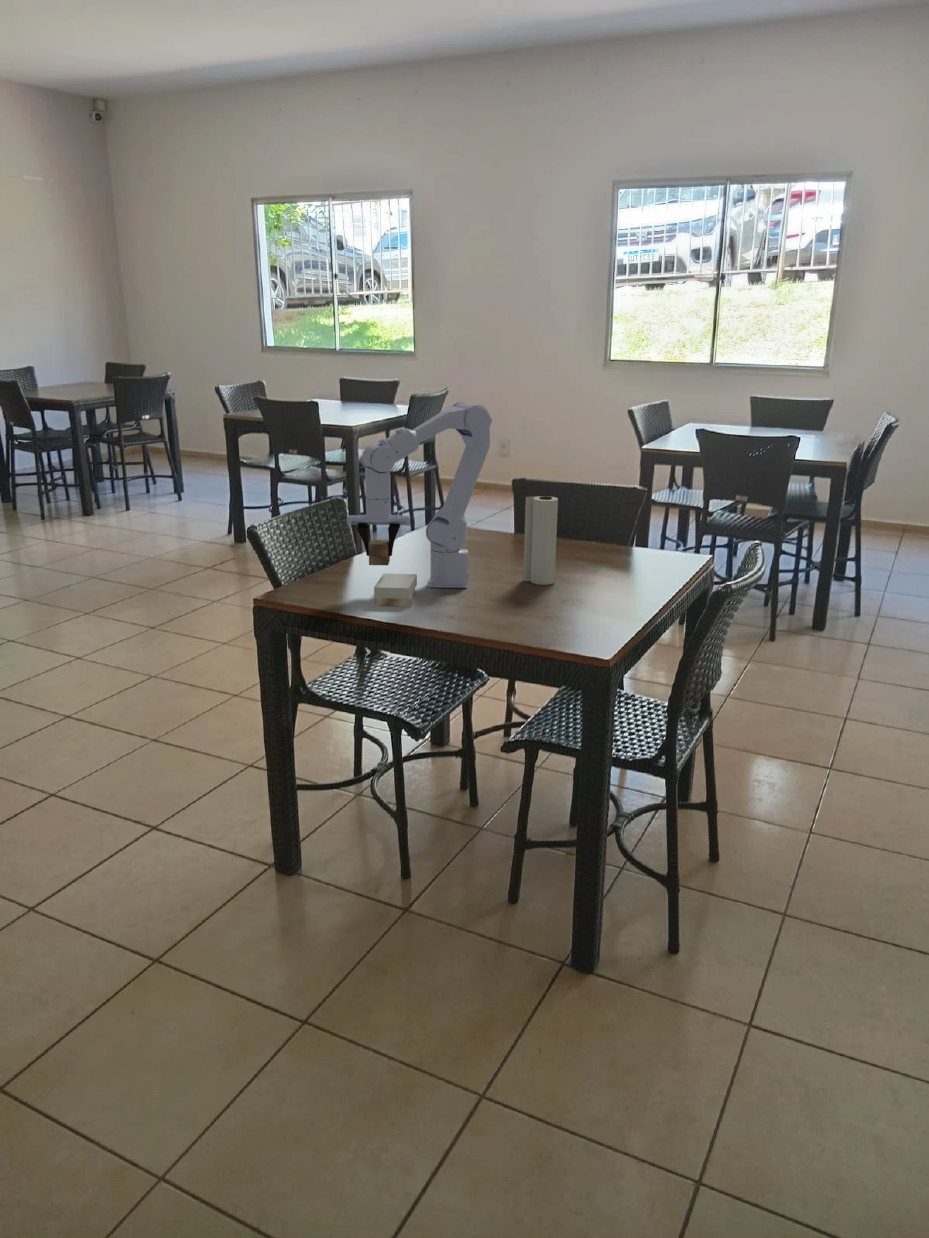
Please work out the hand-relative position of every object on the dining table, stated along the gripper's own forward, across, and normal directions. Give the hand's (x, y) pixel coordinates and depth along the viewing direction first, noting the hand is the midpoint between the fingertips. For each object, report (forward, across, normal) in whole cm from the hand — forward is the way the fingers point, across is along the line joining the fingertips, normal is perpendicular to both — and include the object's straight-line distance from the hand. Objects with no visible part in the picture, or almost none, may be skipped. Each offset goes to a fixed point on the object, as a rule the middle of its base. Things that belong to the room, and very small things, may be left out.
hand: (379, 555), depth 217 cm
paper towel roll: (+10, -39, -12) cm, 42 cm away
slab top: (+8, -4, +4) cm, 10 cm away
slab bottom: (+10, -4, +4) cm, 12 cm away
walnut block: (+2, 0, 0) cm, 2 cm away
